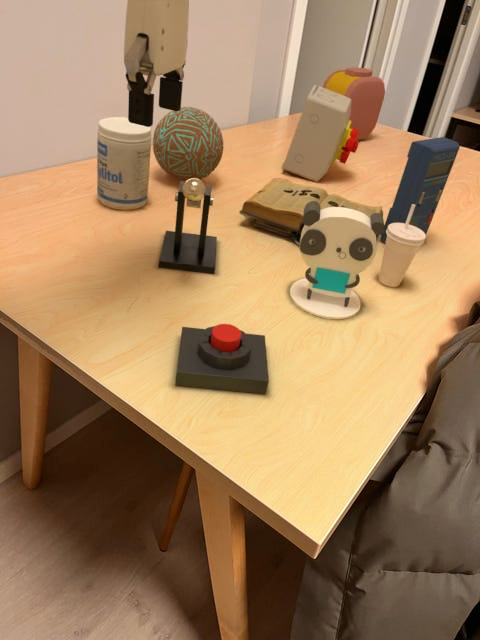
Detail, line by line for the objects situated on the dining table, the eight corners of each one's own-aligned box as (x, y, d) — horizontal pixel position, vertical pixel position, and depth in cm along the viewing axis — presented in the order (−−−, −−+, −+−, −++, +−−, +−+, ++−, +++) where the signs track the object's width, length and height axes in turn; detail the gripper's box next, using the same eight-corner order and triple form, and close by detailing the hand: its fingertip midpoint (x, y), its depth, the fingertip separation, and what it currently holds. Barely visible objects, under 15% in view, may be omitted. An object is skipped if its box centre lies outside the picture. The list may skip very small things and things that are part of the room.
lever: (204, 201, 72) (206, 178, 72) (181, 198, 72) (183, 174, 72) (203, 211, 85) (205, 191, 85) (183, 208, 85) (185, 188, 85)
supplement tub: (87, 203, 100) (86, 124, 91) (112, 187, 107) (113, 112, 99) (134, 216, 98) (136, 136, 90) (156, 199, 106) (160, 124, 97)
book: (378, 232, 108) (387, 205, 105) (362, 265, 95) (371, 236, 92) (265, 198, 114) (270, 172, 111) (236, 225, 101) (240, 196, 98)
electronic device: (398, 251, 102) (435, 149, 91) (377, 240, 105) (410, 139, 94) (425, 242, 108) (463, 144, 96) (405, 231, 111) (439, 135, 99)
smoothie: (393, 270, 95) (419, 197, 87) (414, 289, 91) (444, 214, 83) (363, 272, 93) (388, 198, 85) (384, 292, 88) (411, 215, 80)
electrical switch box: (337, 196, 127) (373, 114, 116) (279, 173, 128) (309, 90, 116) (343, 177, 139) (376, 101, 127) (290, 156, 140) (318, 79, 128)
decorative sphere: (137, 171, 116) (140, 100, 108) (191, 163, 125) (197, 96, 117) (177, 197, 108) (183, 122, 100) (232, 186, 117) (242, 117, 109)
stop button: (209, 351, 64) (211, 339, 63) (210, 333, 66) (212, 322, 65) (239, 354, 64) (241, 343, 63) (239, 336, 67) (241, 325, 66)
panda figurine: (282, 309, 80) (303, 218, 71) (288, 273, 89) (307, 188, 80) (361, 325, 79) (391, 236, 71) (358, 287, 89) (385, 204, 80)
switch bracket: (214, 274, 85) (223, 206, 79) (158, 267, 85) (162, 198, 78) (215, 242, 94) (224, 179, 88) (165, 236, 94) (169, 171, 87)
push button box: (175, 385, 63) (177, 360, 61) (181, 339, 70) (183, 315, 68) (265, 394, 64) (271, 369, 62) (262, 348, 71) (267, 324, 69)
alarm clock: (348, 129, 172) (364, 64, 161) (374, 140, 166) (393, 73, 154) (309, 133, 161) (324, 64, 150) (336, 145, 155) (354, 74, 144)
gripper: (162, -37, 70) (155, 98, 80) (98, -40, 56) (99, 124, 66) (216, -27, 69) (202, 109, 79) (164, -28, 55) (155, 138, 65)
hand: (155, 116), depth 72 cm, fingers open, 9 cm apart
